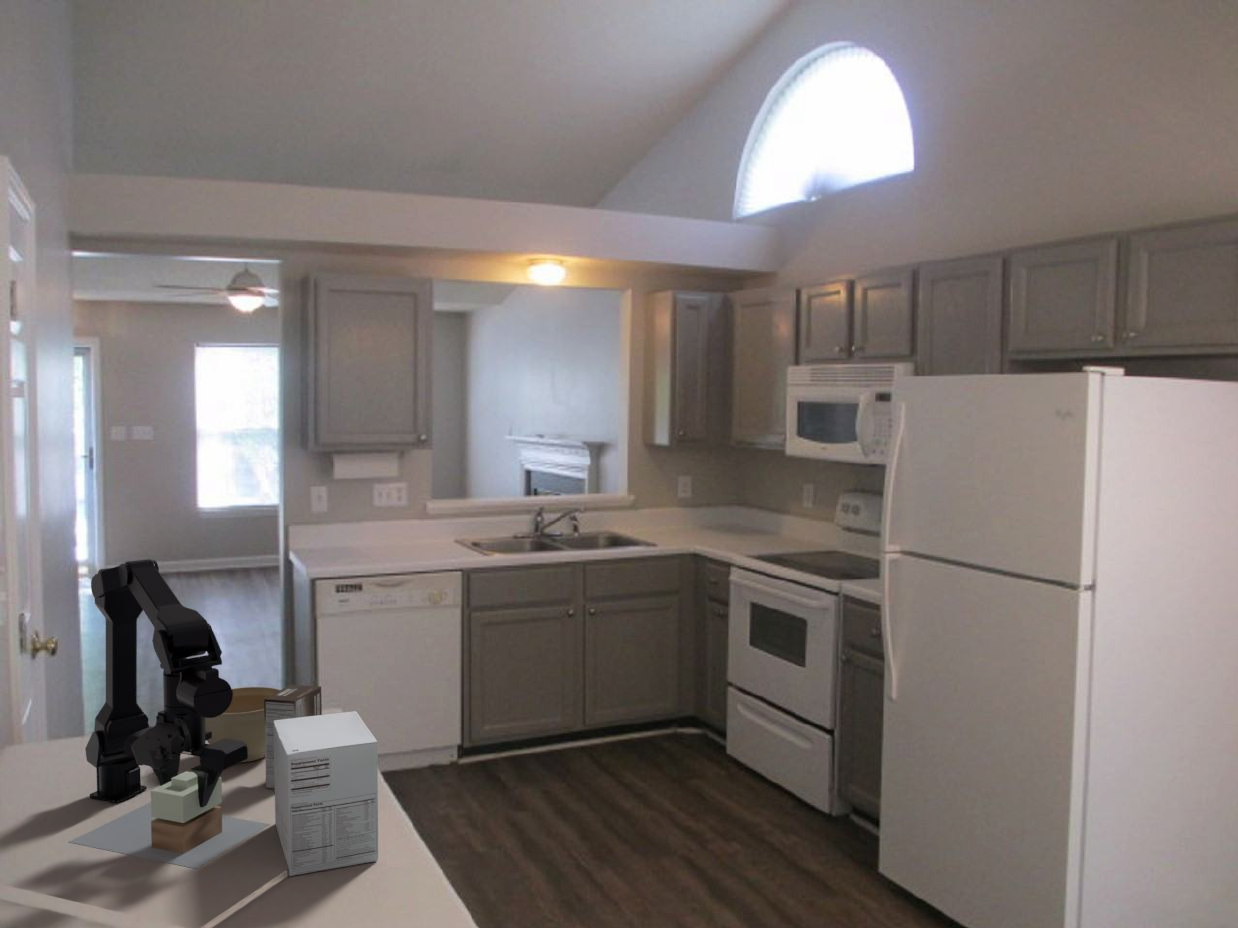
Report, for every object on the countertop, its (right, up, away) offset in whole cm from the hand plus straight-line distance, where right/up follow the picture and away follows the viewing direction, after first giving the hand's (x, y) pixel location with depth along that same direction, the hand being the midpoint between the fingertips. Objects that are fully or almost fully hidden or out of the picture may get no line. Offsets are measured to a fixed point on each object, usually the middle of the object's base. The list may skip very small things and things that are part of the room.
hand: (186, 803), depth 154 cm
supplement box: (+21, -7, +1) cm, 22 cm away
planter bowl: (-6, -4, +40) cm, 40 cm away
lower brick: (0, -6, 0) cm, 6 cm away
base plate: (-3, -7, +3) cm, 8 cm away
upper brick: (0, -1, 0) cm, 1 cm away
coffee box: (+8, -5, +27) cm, 29 cm away
